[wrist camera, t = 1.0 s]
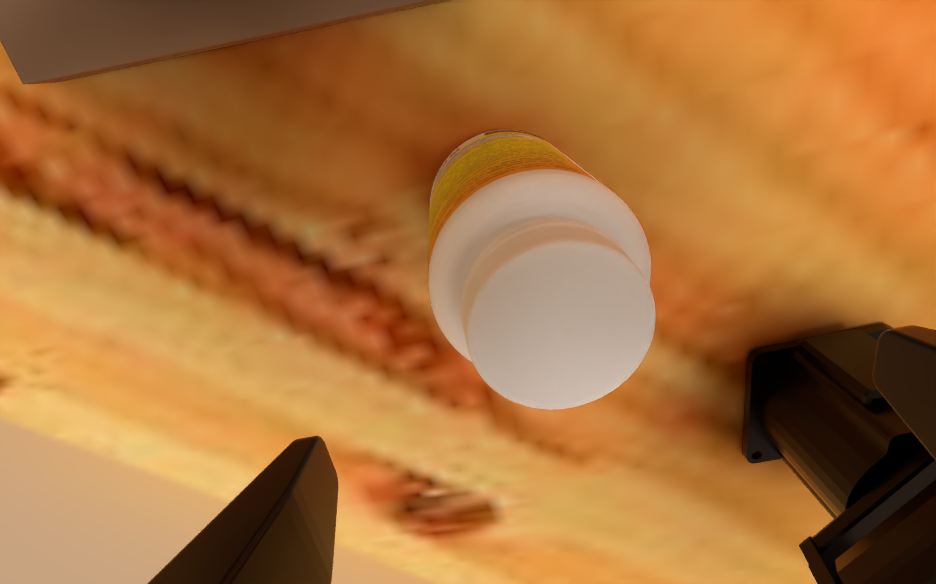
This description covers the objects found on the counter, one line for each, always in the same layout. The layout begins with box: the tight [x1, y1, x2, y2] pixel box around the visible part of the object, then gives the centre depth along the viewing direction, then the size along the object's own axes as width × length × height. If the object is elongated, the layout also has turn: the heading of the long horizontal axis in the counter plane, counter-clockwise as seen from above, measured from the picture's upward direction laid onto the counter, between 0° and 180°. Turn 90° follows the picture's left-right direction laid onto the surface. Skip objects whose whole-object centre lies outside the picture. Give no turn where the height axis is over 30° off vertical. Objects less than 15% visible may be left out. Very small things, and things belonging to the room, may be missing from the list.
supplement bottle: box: [428, 130, 656, 410], centre depth 15 cm, size 6×6×10 cm
